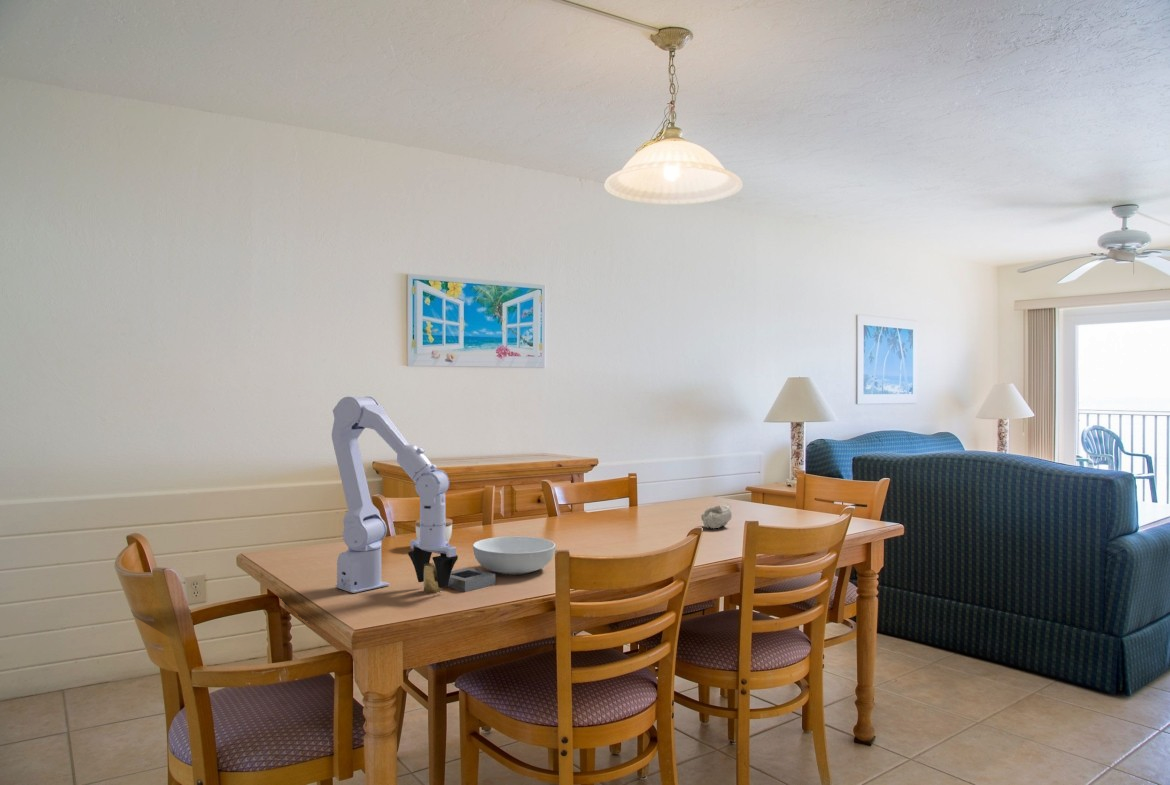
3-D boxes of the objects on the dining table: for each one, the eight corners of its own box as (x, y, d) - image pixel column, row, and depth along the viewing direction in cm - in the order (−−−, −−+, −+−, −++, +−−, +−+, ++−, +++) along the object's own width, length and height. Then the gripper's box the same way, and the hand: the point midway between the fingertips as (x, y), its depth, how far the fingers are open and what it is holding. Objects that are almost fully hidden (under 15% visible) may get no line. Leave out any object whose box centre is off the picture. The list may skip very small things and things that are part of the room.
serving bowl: (496, 585, 175) (496, 555, 175) (459, 568, 192) (459, 541, 193) (571, 573, 186) (571, 546, 187) (530, 558, 204) (530, 533, 204)
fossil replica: (699, 530, 246) (730, 534, 244) (701, 506, 245) (732, 509, 244) (700, 521, 258) (730, 525, 256) (703, 498, 257) (732, 501, 255)
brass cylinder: (430, 594, 167) (430, 567, 167) (420, 591, 169) (420, 564, 169) (445, 591, 170) (445, 564, 170) (434, 587, 172) (434, 561, 172)
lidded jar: (448, 551, 213) (448, 518, 213) (410, 550, 213) (410, 517, 213) (456, 543, 224) (456, 512, 224) (420, 543, 224) (420, 512, 224)
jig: (465, 591, 169) (465, 581, 169) (438, 584, 176) (438, 574, 176) (495, 584, 176) (495, 574, 176) (468, 577, 182) (468, 567, 182)
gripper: (466, 525, 168) (467, 586, 168) (428, 518, 177) (428, 575, 177) (441, 529, 162) (441, 592, 162) (402, 522, 172) (402, 581, 172)
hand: (432, 584), depth 170 cm, fingers open, 7 cm apart
